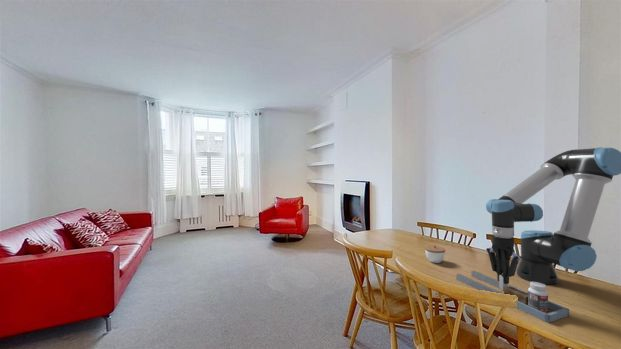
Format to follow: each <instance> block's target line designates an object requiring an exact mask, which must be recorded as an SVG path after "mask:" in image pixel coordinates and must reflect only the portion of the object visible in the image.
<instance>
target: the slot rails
mask: <svg viewBox="0 0 621 349" xmlns="http://www.w3.org/2000/svg"><path fill="white" fill-rule="evenodd" d="M470 273H471V274H470V276H471V277H473V278H475V279H477V280H480V281H482V282H483V283H487V284H489V285H490V286H491V287H490V286H488V285H486V284H483V283H481V282H480V281H477V280H474V279H472V278H470V277H468V276H466V275H464V274H461V273H456V276H455V277H456V280H457V281H459V282H461V283H464V284H465V285H467V286H469V287H471V288H473V289H476V290H478V289H479V290H478V291H480V290H485V291H490V292H496V293H502V294H503V291H501V290H498V289H499V281H498V280H497V279H496V278H493V277H491V276H488V275H486V274H483V273H482V272H479V271H477V270H471V272H470ZM492 286H493V287H496V288H497V289H495V288H493V287H492ZM510 286H511V287H513V288H516V289H517V288H518V287H516V286H514V285H511V284H510V283H509V284H507V287H510Z"/></svg>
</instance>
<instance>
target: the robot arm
mask: <svg viewBox="0 0 621 349" xmlns="http://www.w3.org/2000/svg"><path fill="white" fill-rule="evenodd" d="M569 175H571V176H572V177H573V178H574V180H575V182H574V184H573V188H572V191H571V194H570V196H569V200H568V204H567V207H566V209H565V213H564V216H563V219H562V222H561V226H560V228H559V230H556V231H555V232H554V233H553V232H552V231H547V230H533V229H532V230H523V231H522V232H521V234H520V255H518V254H517V253H516V251H515V249H514V247H515V238H514V237H515V223H518V222H519V223H522V222H525V223H527V222H530V223H531V222H532V223H533V222H538V221H541V220H542V218H543V216H544V210H543V208H542V207H541V206H540V205H539V204H536V203H530V202H529V203H525V202H526V201H528V200H530V199H531V198H532V197H534V196H535V195H536V194H537V193H539V192H540V191H542V190H543V189H545V187H547V186H549V185H550V184H551V183H553V182H554V181H556V180H561V179H562V178H564V177H566V176H569ZM618 175H621V150H618V149H616V148H614V147H602V146H601V147H594V148H592V147H591V148H579V149H577V148H576V149H570V150H566V151H562V152H561V153H558V154H556V155H554V156H553V157H551V158H549V159H548V160H547V161H544V163H542V164H541V165H540V168H539V169H538V170H536V171H535V172H534V173H532V174H531V175H530V176H528V177H527V178H526V179H524V180H523V181H521V182H520V183H518V184H517V185H515V186H514V187H513V188H512V189H510V190H509V191H507V192H506V193H505V194H503V195H502V196H500V197H498V198H497V199H495V198H494V199H489V200H488V201H487V202H486V204H485V209H486V211H487V212H488V213H489V214H491V233H492V236H491V243H492V245H491V247H488V248H487V247H486V252H487V254H488V257H489V261H490V266H491V268H492V271H493V272H495V273H496V275H497V277H496V278H497V279H496V280H498V281H499V288H498V291H500V292H504V288H506V287H507V284H509V285H510V278H511V277H514V276H515V275H517V276H518V277H520V278H522V279H523V280H527V281H529V282H539V283H542V284H545V285H556V284H558V283H559V277H558V274H557V271H556V269H555V266H554V265H556V266H560V267H562V268H564V269H566V270H571V271H574V272H583V271H586V270H589V269H590V268H592V267H593V266H594V264H596V262H597V252H596V250H595V249H594V248H593V247H592V242H591V240H590V239H589V236H590V232H591V228H592V225H593V222H594V220H595V217H596V216H595V215H596V213H597V209H598V207H599V204H600V200H601V197H602V194H603V191H604V187H605V185H606V184H609V183H611V182H612V181H613V177H614V176H618Z"/></svg>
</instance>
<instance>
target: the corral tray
mask: <svg viewBox="0 0 621 349" xmlns="http://www.w3.org/2000/svg"><path fill="white" fill-rule="evenodd" d="M516 288H517V289H518V290H520V291H523V292H525V293H528V291H525V290H523V289H521V288H518V287H516ZM515 308H516V309H518V310H520V311H522V312H525V313H526V314H529V315H530V316H532V315H533V317H534V318H536V319H539V320H541V321H544V322H546V323H547V324H548V323H553V322H555V321H558V320H561V319H563V317H564V318H567V317H569V316H570V309H569V308H567V307H565V306H563V305H560V304H557V303H555V302H553V301H550V300H548V310H549V309H550V310H551V309H552V310H551V311H552V312H551V311H550V312H547V313H544V312H541V311H539V310H537V309H535V308H532V307H530V306H528V305H526V304H523V303H521V302H519V301H517V307H515ZM566 316H567V317H566ZM560 318H561V319H560ZM557 319H558V320H557ZM552 321H553V322H552Z"/></svg>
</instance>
